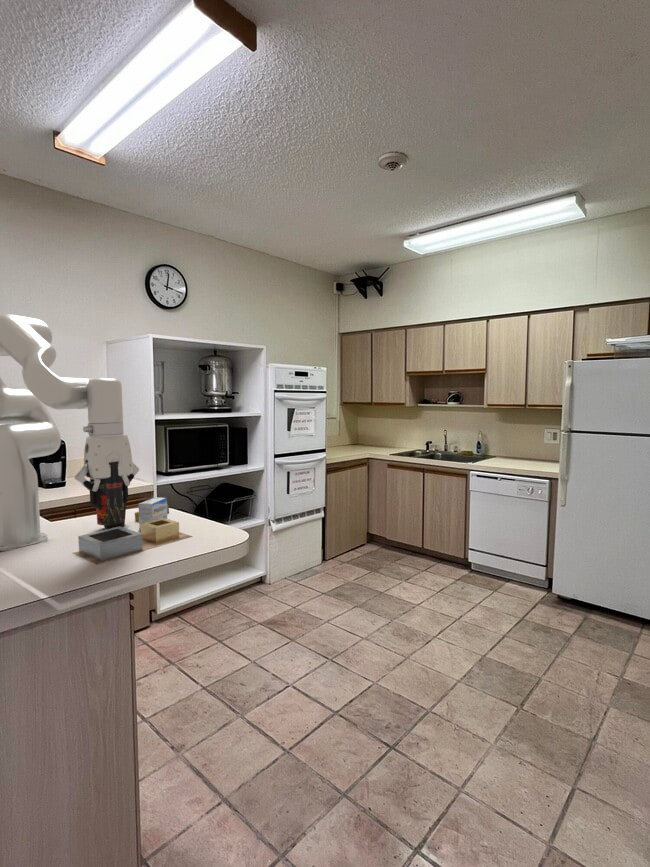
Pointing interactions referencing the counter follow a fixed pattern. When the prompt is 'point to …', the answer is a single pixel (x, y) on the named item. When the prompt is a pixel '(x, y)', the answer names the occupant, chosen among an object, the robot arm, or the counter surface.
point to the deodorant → (111, 498)
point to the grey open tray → (110, 543)
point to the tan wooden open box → (160, 530)
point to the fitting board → (146, 546)
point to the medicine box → (152, 510)
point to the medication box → (138, 514)
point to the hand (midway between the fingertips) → (109, 503)
